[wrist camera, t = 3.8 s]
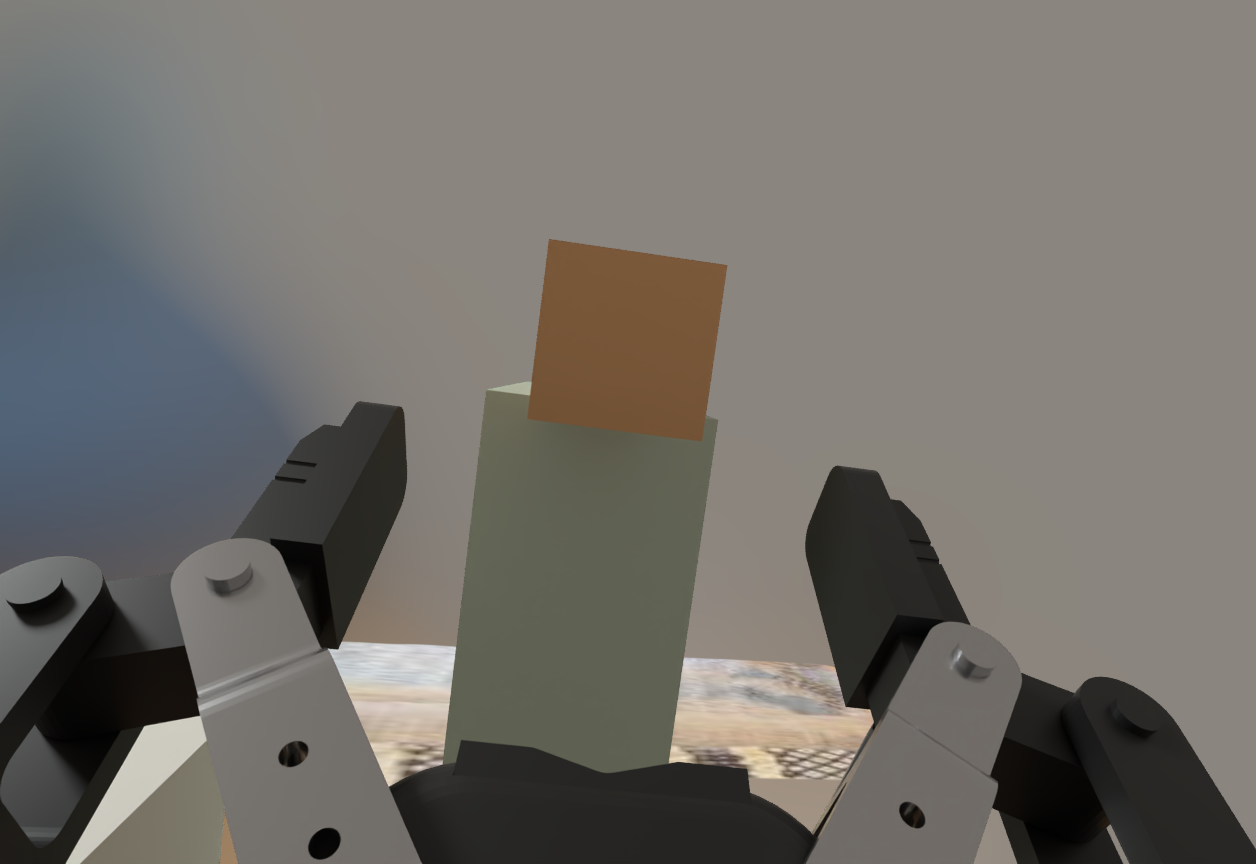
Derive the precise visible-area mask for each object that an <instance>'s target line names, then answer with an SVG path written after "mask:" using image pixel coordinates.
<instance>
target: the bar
mask: <svg viewBox="0 0 1256 864" xmlns="http://www.w3.org/2000/svg"><path fill="white" fill-rule="evenodd" d="M726 270H727V265H722V264H715V263H708V262H701V261H695V260H687V259H681V258H674V257H667V256H661V255H654V254H647V253H640V252H633V251H627V250H620V249H612V248H605V247H599V246H592V245H585V244H579V243H571V242H565V241H558V240H551V239H549V244H548V253H547V260H546V268H545V278H544V285H543V293H542V302H541V310H540V318H539V326H538V334H537V342H536V351H535V359H534V368H533V375H532V383H531V391H530V400H529V408H528V416H527V419H530V420H538V421H546V422H554V423H561V424H569V425H577V426H585V427H593V428H600V429H608V430H616V431H624V432H632V433H639V434H647V435H655V436H663V437H671V438H678V439H686V440H694V441H702V438H703V431H704V424H705V417H706V410H707V403H708V396H709V389H710V382H711V375H712V368H713V361H714V354H715V347H716V340H717V333H718V326H719V319H720V312H721V305H722V298H723V291H724V284H725V277H726Z"/></svg>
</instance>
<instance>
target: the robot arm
mask: <svg viewBox="0 0 1256 864" xmlns="http://www.w3.org/2000/svg"><path fill="white" fill-rule="evenodd" d="M405 440H406V439H405V420H404V412H403V409H402V407H399V406H391V405H384V404H377V403H369V402H362V401H359V402H357V403H356V404H355V406H354V407H353V409H352V410H351V412H350V413H349V415H348V417H347V418H346V420H345V421H344V423H343V424H342V426H341V427H339V426H331V425H323V426H321V427H320V428H318V429H317V430H315V431H314V432H312V433H311V434H309V435H308V436H306V437H305V438H303V439H302V440H300V441H299V443H298V444H297V446H296V447H295V448H294V450H293V451H292V453H291V454H290V456H289V457H288V458H287V462H286V464H283V466H282V467H281V468H280V470H279V471H278V473H277V474H276V476H275V480H272V481H271V482H270V484H269V485H268V487H267V488H266V490H265V491H264V492H263V494H262V495H261V497H260V498H259V500H258V501H257V502H256V504H255V505H254V507H253V508H252V510H251V511H250V512H249V514H248V515H247V517H246V518H245V519H244V521H243V522H242V524H241V525H240V526H239V528H238V529H237V531H236V532H235V534H234V535H233V536H232V538H231V539H228V540H224V541H220V542H216V543H213V544H211V545H208V546H206V547H204V548H201V549H200V550H198V551H196V552H195V553H193V554H191V555H190V556H189V557H188V558H186V559H185V560H184V561H183V562H182V563H181V564H180V565H179V566H178V568H177V569H176V571H175V572H173V573H169V574H163V575H156V576H148V577H140V578H131V579H123V580H115V581H106V582H105V580H104V577H103V575H102V572H101V571H100V569H99V568H98V567H97V566H96V565H95V564H94V563H92V562H91V561H89V560H86V559H83V558H79V557H71V556H57V557H48V558H43V559H38V560H35V561H31V562H28V563H25V564H22V565H20V566H17V567H15V568H13V569H10V570H8V571H6V572H4V573H3V574H1V575H0V864H66V862H67V860H68V859H69V857H70V855H71V853H72V852H73V850H74V848H75V847H76V845H77V843H78V841H79V840H80V838H81V836H82V834H83V833H84V831H85V829H86V827H87V826H88V824H89V822H90V820H91V819H92V817H93V815H94V813H95V812H96V810H97V808H98V806H99V805H100V803H101V801H102V799H103V798H104V796H105V794H106V792H107V791H108V789H109V787H110V785H111V784H112V782H113V780H114V779H115V777H116V775H117V773H118V772H119V770H120V768H121V766H122V765H123V763H124V761H125V759H126V758H127V756H128V754H129V752H130V751H131V749H132V747H133V745H134V744H135V742H136V740H137V738H138V737H139V735H140V733H141V731H142V730H143V728H144V726H148V725H154V724H159V723H165V722H170V721H175V720H181V719H186V718H191V717H197V716H201V720H202V724H203V728H204V732H205V736H206V740H207V744H208V748H209V751H210V755H211V759H212V763H213V767H214V771H215V775H216V779H217V783H218V787H219V791H220V794H221V798H222V802H223V806H224V810H225V814H226V818H227V822H228V825H229V830H230V833H231V837H232V841H233V845H234V849H235V853H236V857H237V861H238V864H973V863H974V860H975V857H976V854H977V851H978V848H979V844H980V842H981V838H982V835H983V833H984V830H985V827H986V824H987V821H988V818H989V815H990V812H991V809H992V808H993V809H995V810H998V811H999V813H1000V816H1001V819H1002V821H1003V824H1004V827H1005V830H1006V833H1007V835H1008V838H1009V841H1010V844H1011V847H1012V849H1013V852H1014V855H1015V858H1016V861H1017V864H1123V863H1122V860H1121V858H1120V856H1119V854H1118V852H1117V850H1116V848H1115V846H1114V843H1113V841H1112V839H1111V837H1110V835H1109V833H1108V831H1107V829H1106V828H1107V827H1108V826H1109V825H1110V824H1111V826H1112V828H1113V830H1114V832H1115V834H1116V836H1117V839H1118V840H1119V842H1120V845H1121V847H1122V849H1123V851H1124V853H1125V855H1126V857H1127V859H1128V861H1129V863H1130V864H1256V849H1255V847H1254V846H1253V844H1252V843H1251V841H1250V839H1249V838H1248V836H1247V835H1246V833H1245V831H1244V830H1243V828H1242V827H1241V825H1240V823H1239V822H1238V820H1237V819H1236V817H1235V815H1234V814H1233V812H1232V811H1231V809H1230V807H1229V806H1228V804H1227V803H1226V801H1225V800H1224V798H1223V796H1222V795H1221V793H1220V792H1219V790H1218V788H1217V787H1216V786H1215V784H1214V782H1213V780H1212V779H1211V777H1210V776H1209V774H1208V772H1207V771H1206V769H1205V768H1204V766H1203V764H1202V763H1201V761H1200V760H1199V759H1198V756H1197V755H1196V753H1195V752H1194V750H1193V748H1192V747H1191V745H1190V744H1189V742H1188V741H1187V739H1186V737H1185V736H1184V734H1183V733H1182V731H1181V729H1180V728H1179V726H1178V725H1177V723H1176V722H1175V721H1174V719H1173V718H1172V717H1171V716H1170V715H1169V713H1168V712H1167V711H1166V710H1165V709H1164V708H1163V707H1162V706H1161V705H1160V704H1158V703H1157V702H1156V701H1155V700H1153V699H1152V698H1151V697H1150V696H1148V695H1147V694H1145V693H1144V692H1142V691H1141V690H1139V689H1137V688H1135V687H1134V686H1131V685H1129V684H1127V683H1125V682H1122V681H1119V680H1117V679H1113V678H1108V677H1094V678H1090V679H1088V680H1087V681H1085V682H1084V683H1083V684H1082V686H1080V688H1079V689H1078V690H1077V691H1076V692H1075V693H1072V692H1070V691H1067V690H1064V689H1062V688H1059V687H1056V686H1054V685H1051V684H1048V683H1046V682H1043V681H1041V680H1038V679H1035V678H1033V677H1030V676H1028V675H1025V674H1023V673H1021V672H1020V668H1019V666H1018V664H1017V662H1016V660H1015V659H1014V657H1013V656H1012V655H1011V653H1010V652H1009V651H1008V650H1007V649H1006V648H1005V647H1004V646H1003V645H1002V644H1001V643H1000V642H999V641H997V640H996V639H995V638H994V637H992V636H991V635H989V634H988V633H986V632H984V631H982V630H980V629H978V628H976V627H973V626H971V625H970V623H969V621H968V619H967V617H966V614H965V612H964V610H963V608H962V606H961V604H960V602H959V600H958V598H957V596H956V594H955V591H954V589H953V587H952V585H951V583H950V581H949V579H948V577H947V575H946V573H945V571H944V569H943V567H942V565H941V564H939V558H938V556H937V554H936V552H935V550H934V548H933V547H932V546H930V544H931V542H930V539H929V537H928V535H927V533H926V531H925V529H924V527H923V525H922V523H921V521H920V520H919V519H918V518H917V517H916V516H915V515H914V514H913V513H912V512H911V511H910V510H909V508H908V507H907V506H906V505H905V504H904V503H903V502H901V501H899V500H892V499H890V497H889V495H888V493H887V490H886V488H885V486H884V484H883V481H882V479H881V477H880V475H879V473H878V472H877V471H874V470H866V469H859V468H851V467H843V466H835V467H833V469H832V470H831V472H830V473H829V476H828V478H827V481H826V483H825V485H824V488H823V490H822V493H821V496H820V498H819V500H818V503H817V505H816V508H815V510H814V513H813V515H812V518H811V520H810V523H809V525H808V529H807V534H806V542H805V549H806V558H807V562H808V566H809V569H810V573H811V577H812V581H813V585H814V588H815V592H816V596H817V600H818V603H819V607H820V611H821V615H822V619H823V623H824V626H825V630H826V634H827V638H828V641H829V645H830V649H831V653H832V657H833V661H834V664H835V668H836V672H837V676H838V680H839V683H840V687H841V691H842V695H843V699H844V702H845V706H846V707H852V708H861V709H870V710H871V713H872V717H873V720H874V723H873V725H872V726H871V728H870V729H869V731H868V733H867V735H866V736H865V738H864V740H863V742H862V744H861V745H860V747H859V749H858V751H857V753H856V754H855V756H854V758H853V760H852V762H851V764H850V765H849V767H848V769H847V771H846V773H845V774H844V776H843V778H842V780H841V782H840V783H839V785H838V787H837V789H836V791H835V792H834V794H833V796H832V798H831V800H830V802H829V803H828V805H827V807H826V809H825V811H824V812H823V814H822V816H821V817H820V819H819V821H818V823H817V824H816V826H815V828H814V829H813V831H812V833H811V832H810V831H809V830H808V829H807V828H806V827H805V826H804V825H802V824H801V823H800V822H799V821H797V820H796V819H795V818H794V817H793V816H791V815H790V814H788V813H787V812H786V811H784V810H782V809H781V808H779V807H778V806H776V805H775V804H773V803H771V802H769V801H767V800H765V799H763V798H761V797H759V796H757V795H754V794H752V793H750V789H749V780H748V772H747V769H742V768H732V767H723V766H713V765H703V764H693V763H683V762H675V763H669V764H663V765H657V766H651V767H644V768H638V769H632V770H626V771H620V772H614V773H603V772H599V771H596V770H593V769H590V768H588V767H585V766H582V765H580V764H577V763H574V762H572V761H569V760H566V759H563V758H561V757H558V756H555V755H553V754H550V753H547V752H544V751H542V750H539V749H536V748H534V747H526V746H516V745H506V744H496V743H487V742H477V741H467V740H461V742H460V747H459V751H458V755H457V759H456V762H455V763H450V764H444V765H440V766H436V767H433V768H429V769H426V770H423V771H420V772H418V773H416V774H413V775H411V776H408V777H406V778H404V779H402V780H400V781H399V782H397V783H395V784H393V785H391V786H389V787H388V785H387V782H386V780H385V778H384V775H383V773H382V771H381V768H380V766H379V764H378V761H377V759H376V757H375V755H374V752H373V750H372V748H371V745H370V743H369V741H368V738H367V736H366V734H365V731H364V729H363V727H362V725H361V722H360V720H359V718H358V715H357V713H356V711H355V708H354V706H353V704H352V701H351V699H350V697H349V695H348V692H347V690H346V688H345V685H344V683H343V681H342V678H341V676H340V674H339V671H338V669H337V667H336V665H335V662H334V660H333V658H332V656H331V654H330V652H329V650H328V649H327V648H329V649H339V646H340V644H341V642H342V639H343V637H344V635H345V633H346V630H347V628H348V626H349V624H350V621H351V619H352V617H353V615H354V612H355V610H356V607H357V605H358V603H359V601H360V599H361V596H362V594H363V592H364V589H365V587H366V585H367V583H368V580H369V578H370V576H371V573H372V571H373V569H374V567H375V565H376V562H377V560H378V558H379V555H380V553H381V551H382V549H383V546H384V544H385V542H386V539H387V537H388V535H389V533H390V530H391V528H392V526H393V524H394V521H395V519H396V517H397V515H398V512H399V510H400V508H401V505H402V502H403V499H404V495H405V489H406V483H407V460H406V441H405Z"/></svg>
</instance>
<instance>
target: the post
mask: <svg viewBox="0 0 1256 864" xmlns="http://www.w3.org/2000/svg"><path fill="white" fill-rule="evenodd" d="M224 811H225V810H224V806H223V802H222V798H221V794H220V791H219V787H218V783H217V779H216V775H215V771H214V767H213V763H212V759H211V755H210V751H209V748H208V744H207V740H206V736H205V732H204V728H203V724H202V720H201V716H197V717H191V718H186V719H181V720H175V721H170V722H165V723H159V724H154V725H148V726H144V728H143V730H142V731H141V733H140V735H139V737H138V738H137V740H136V742H135V744H134V745H133V747H132V749H131V751H130V752H129V754H128V756H127V758H126V759H125V761H124V763H123V765H122V766H121V768H120V770H119V772H118V773H117V775H116V777H115V779H114V780H113V782H112V784H111V785H110V787H109V789H108V791H107V792H106V794H105V796H104V798H103V799H102V801H101V803H100V805H99V806H98V808H97V810H96V812H95V813H94V815H93V817H92V819H91V820H90V822H89V824H88V826H87V827H86V829H85V831H84V833H83V834H82V836H81V838H80V840H79V841H78V843H77V845H76V847H75V848H74V850H73V852H72V853H71V855H70V857H69V859H68V860H67V862H66V864H220V855H221V844H222V833H223V821H224Z"/></svg>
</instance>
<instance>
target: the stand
mask: <svg viewBox="0 0 1256 864" xmlns="http://www.w3.org/2000/svg"><path fill="white" fill-rule="evenodd" d="M531 383H532V382H523V383H518V384H513V385H508V386H503V387H498V388H492V389H487V390H486V398H485V405H484V414H483V422H482V431H481V441H480V448H479V457H478V466H477V474H476V483H475V491H474V499H473V508H472V517H471V525H470V534H469V542H468V552H467V559H466V568H465V577H464V586H463V594H462V602H461V611H460V619H459V628H458V637H457V645H456V654H455V662H454V671H453V680H452V688H451V697H450V705H449V714H448V722H447V731H446V740H445V748H444V757H443V765H444V764H450V763H455V762H456V759H457V755H458V751H459V747H460V742H461V740H467V741H477V742H487V743H496V744H506V745H516V746H526V747H534V748H536V749H539V750H542V751H544V752H547V753H550V754H553V755H555V756H558V757H561V758H563V759H566V760H569V761H572V762H574V763H577V764H580V765H582V766H585V767H588V768H590V769H593V770H596V771H599V772H603V773H614V772H620V771H626V770H632V769H638V768H644V767H651V766H657V765H663V764H668V763H669V756H670V749H671V742H672V735H673V728H674V721H675V715H676V708H677V701H678V694H679V687H680V680H681V673H682V666H683V659H684V652H685V645H686V638H687V631H688V625H689V617H690V610H691V604H692V597H693V590H694V582H695V576H696V569H697V562H698V555H699V548H700V541H701V535H702V527H703V521H704V514H705V507H706V500H707V493H708V486H709V479H710V472H711V465H712V458H713V452H714V445H715V438H716V431H717V424H718V420H717V419H714V418H712V417H709V416H706V417H705V424H704V431H703V438H702V441H694V440H686V439H678V438H671V437H663V436H655V435H647V434H639V433H632V432H624V431H616V430H608V429H600V428H593V427H585V426H577V425H569V424H561V423H554V422H546V421H538V420H530V419H527V416H528V408H529V400H530V391H531Z"/></svg>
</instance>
